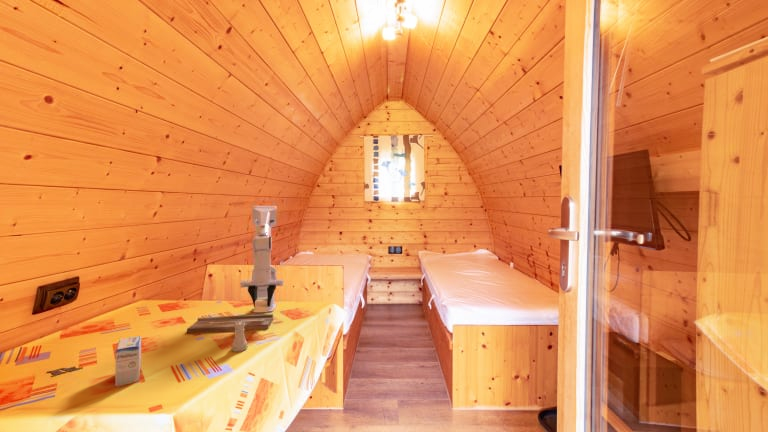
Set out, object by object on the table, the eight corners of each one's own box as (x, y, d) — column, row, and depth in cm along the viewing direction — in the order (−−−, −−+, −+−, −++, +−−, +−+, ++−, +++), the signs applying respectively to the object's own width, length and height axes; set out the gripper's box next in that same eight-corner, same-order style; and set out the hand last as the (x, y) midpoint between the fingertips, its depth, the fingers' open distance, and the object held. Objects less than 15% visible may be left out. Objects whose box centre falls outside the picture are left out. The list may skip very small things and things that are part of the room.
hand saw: (158, 344, 98) (158, 342, 98) (163, 348, 95) (163, 346, 95) (46, 373, 80) (46, 371, 80) (47, 379, 77) (47, 377, 77)
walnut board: (199, 323, 116) (199, 317, 116) (273, 319, 120) (273, 313, 120) (187, 333, 106) (187, 326, 106) (268, 328, 110) (268, 322, 110)
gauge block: (258, 308, 117) (258, 297, 117) (269, 308, 118) (269, 297, 118) (254, 312, 112) (254, 301, 112) (266, 312, 113) (266, 300, 113)
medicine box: (118, 373, 79) (118, 338, 79) (141, 368, 82) (141, 335, 82) (115, 387, 73) (115, 349, 73) (139, 381, 75) (139, 345, 75)
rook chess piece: (250, 349, 94) (250, 322, 94) (234, 353, 90) (234, 325, 90) (244, 344, 97) (244, 318, 97) (229, 349, 94) (229, 322, 94)
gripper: (237, 271, 110) (237, 310, 110) (281, 270, 112) (281, 308, 112) (243, 268, 117) (243, 304, 117) (284, 267, 119) (284, 303, 119)
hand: (262, 306), depth 115 cm, fingers closed on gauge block, 4 cm apart
